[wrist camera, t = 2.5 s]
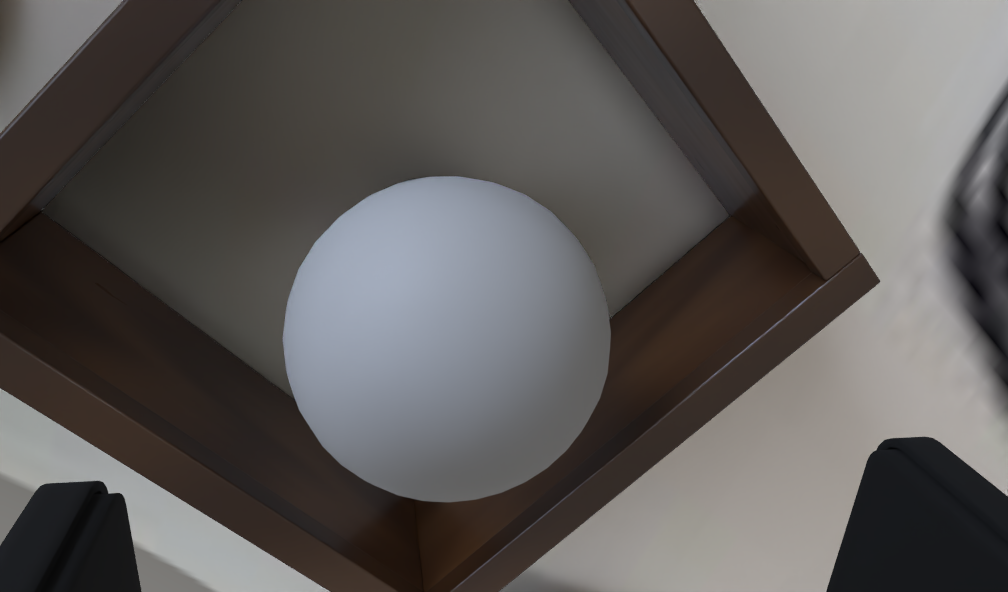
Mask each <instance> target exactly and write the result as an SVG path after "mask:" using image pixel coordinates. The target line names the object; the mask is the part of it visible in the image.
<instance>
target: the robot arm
mask: <svg viewBox="0 0 1008 592" xmlns="http://www.w3.org/2000/svg"><path fill="white" fill-rule="evenodd" d="M0 592H141V587H140V581H139V575H138V570H137V564H136V559H135V554H134V547H133V542H132V536H131V530H130V525H129V519H128V513H127V508H126V503H125V499H124V497H123V495H122V494H120V493H113V494H108V491H107V487H106V486H105V484H104V483H103V482H101V481H88V482H69V483H50V484H44V485H42V486H40V487H39V488H38V490H37V491H36V492H35V493H34V495H33V496H32V498H31V499H30V501H29V503H28V504H27V506H26V507H25V509H24V510H23V512H22V513H21V515H20V516H19V518H18V519H17V521H16V522H15V524H14V525H13V527H12V529H11V530H10V532H9V533H8V535H7V536H6V538H5V540H4V541H3V542H2V544H1V546H0ZM826 592H1008V497H1007V496H1006V495H1005V494H1004V493H1002V492H1001V491H1000V490H999V489H997V488H996V487H995V486H994V485H992V484H991V483H990V482H989V481H987V480H986V479H985V478H984V477H982V476H981V475H980V474H979V473H977V472H976V471H975V470H974V469H973V468H971V467H970V466H969V465H968V464H966V463H965V462H964V461H963V460H961V459H960V458H959V457H958V456H956V455H955V454H954V453H953V452H951V451H950V450H949V449H948V448H946V447H945V446H944V445H943V444H941V443H940V442H938V441H937V440H935V439H933V438H929V437H911V438H892V439H887V440H884V441H883V442H882V443H881V444H880V445H879V446H878V448H877V450H876V451H874V452H873V453H872V454H871V455H870V456H869V458H868V460H867V464H866V467H865V470H864V473H863V476H862V480H861V483H860V486H859V489H858V492H857V495H856V499H855V502H854V505H853V508H852V511H851V515H850V518H849V521H848V524H847V527H846V531H845V534H844V537H843V540H842V543H841V547H840V550H839V553H838V556H837V559H836V562H835V566H834V569H833V572H832V575H831V578H830V582H829V585H828V588H827V591H826Z"/></svg>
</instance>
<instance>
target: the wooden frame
mask: <svg viewBox="0 0 1008 592" xmlns="http://www.w3.org/2000/svg"><path fill="white" fill-rule="evenodd" d="M241 1H242V0H123V1H122V3H121V4H120V5H119V6H118V7H117V8H116V9H115V10H114V11H113V12H112V13H111V14H110V16H109V17H108V18H107V19H106V20H105V21H104V22H103V23H102V24H101V25H100V26H99V27H98V29H97V30H96V31H95V32H94V33H93V34H92V35H91V36H90V37H89V38H88V39H87V40H86V42H85V43H84V44H83V45H82V46H81V47H80V48H79V49H78V50H77V51H76V52H75V53H74V54H73V56H72V57H71V58H70V59H69V60H68V61H67V62H66V63H65V64H64V65H63V66H62V67H61V69H60V70H59V71H58V72H57V73H56V74H55V75H54V76H53V77H52V78H51V79H50V80H49V82H48V83H47V84H46V85H45V86H44V87H43V88H42V89H41V90H40V91H39V92H38V93H37V95H36V96H35V97H34V98H33V99H32V100H31V101H30V102H29V103H28V104H27V105H26V106H25V108H24V109H23V110H22V111H21V112H20V113H19V114H18V115H17V116H16V117H15V118H14V119H13V121H12V122H11V123H10V124H9V125H8V126H7V127H6V128H5V129H4V130H3V131H2V132H1V134H0V388H1V389H3V390H4V391H6V392H8V393H9V394H11V395H13V396H14V397H16V398H17V399H19V400H21V401H22V402H24V403H26V404H27V405H29V406H30V407H32V408H34V409H35V410H37V411H38V412H40V413H42V414H43V415H45V416H47V417H48V418H50V419H51V420H53V421H55V422H56V423H58V424H60V425H61V426H63V427H64V428H66V429H68V430H69V431H71V432H73V433H74V434H76V435H77V436H79V437H81V438H82V439H84V440H85V441H87V442H89V443H90V444H92V445H94V446H95V447H97V448H98V449H100V450H102V451H103V452H105V453H107V454H108V455H110V456H111V457H113V458H115V459H116V460H118V461H120V462H121V463H123V464H124V465H126V466H128V467H129V468H131V469H133V470H134V471H136V472H137V473H139V474H141V475H142V476H144V477H145V478H147V479H149V480H150V481H152V482H154V483H155V484H157V485H158V486H160V487H162V488H163V489H165V490H167V491H168V492H170V493H171V494H173V495H175V496H176V497H178V498H180V499H181V500H183V501H184V502H186V503H188V504H189V505H191V506H192V507H194V508H196V509H197V510H199V511H201V512H202V513H204V514H205V515H207V516H209V517H210V518H212V519H214V520H215V521H217V522H218V523H220V524H222V525H223V526H225V527H227V528H228V529H230V530H231V531H233V532H235V533H236V534H238V535H240V536H241V537H243V538H244V539H246V540H248V541H249V542H251V543H252V544H254V545H256V546H257V547H259V548H261V549H262V550H264V551H265V552H267V553H269V554H270V555H272V556H274V557H275V558H277V559H278V560H280V561H282V562H283V563H285V564H287V565H288V566H290V567H291V568H293V569H295V570H296V571H298V572H299V573H301V574H303V575H304V576H306V577H308V578H309V579H311V580H312V581H314V582H316V583H317V584H319V585H321V586H322V587H324V588H325V589H327V590H329V591H330V592H499V591H500V590H501V589H503V588H504V587H505V586H506V585H508V584H509V583H510V582H511V581H512V580H514V579H515V578H516V577H517V576H519V575H520V574H521V573H522V572H524V571H525V570H526V569H527V568H528V567H530V566H531V565H532V564H533V563H535V562H536V561H537V560H538V559H540V558H541V557H542V556H543V555H544V554H546V553H547V552H548V551H549V550H551V549H552V548H553V547H554V546H556V545H557V544H558V543H559V542H561V541H562V540H563V539H564V538H565V537H567V536H568V535H569V534H570V533H572V532H573V531H574V530H575V529H577V528H578V527H579V526H580V525H581V524H583V523H584V522H585V521H586V520H588V519H589V518H590V517H591V516H593V515H594V514H595V513H596V512H597V511H599V510H600V509H601V508H602V507H604V506H605V505H606V504H607V503H609V502H610V501H611V500H612V499H613V498H615V497H616V496H617V495H618V494H620V493H621V492H622V491H623V490H625V489H626V488H627V487H628V486H630V485H631V484H632V483H633V482H634V481H636V480H637V479H638V478H639V477H641V476H642V475H643V474H644V473H646V472H647V471H648V470H649V469H650V468H652V467H653V466H654V465H655V464H657V463H658V462H659V461H660V460H662V459H663V458H664V457H665V456H666V455H668V454H669V453H670V452H671V451H673V450H674V449H675V448H676V447H678V446H679V445H680V444H681V443H683V442H684V441H685V440H686V439H687V438H689V437H690V436H691V435H692V434H694V433H695V432H696V431H697V430H699V429H700V428H701V427H702V426H703V425H705V424H706V423H707V422H708V421H710V420H711V419H712V418H713V417H715V416H716V415H717V414H718V413H719V412H721V411H722V410H723V409H724V408H726V407H727V406H728V405H729V404H731V403H732V402H733V401H734V400H735V399H737V398H738V397H739V396H740V395H742V394H743V393H744V392H745V391H747V390H748V389H749V388H750V387H752V386H753V385H754V384H755V383H756V382H758V381H759V380H760V379H761V378H763V377H764V376H765V375H766V374H768V373H769V372H770V371H771V370H772V369H774V368H775V367H776V366H777V365H779V364H780V363H781V362H782V361H784V360H785V359H786V358H787V357H788V356H790V355H791V354H792V353H793V352H795V351H796V350H797V349H798V348H800V347H801V346H802V345H803V344H805V343H806V342H807V341H808V340H809V339H811V338H812V337H813V336H814V335H816V334H817V333H818V332H819V331H821V330H822V329H823V328H824V327H825V326H827V325H828V324H829V323H830V322H832V321H833V320H834V319H835V318H837V317H838V316H839V315H840V314H841V313H843V312H844V311H845V310H846V309H848V308H849V307H850V306H851V305H853V304H854V303H855V302H856V301H857V300H859V299H860V298H861V297H862V296H864V295H865V294H866V293H867V292H869V291H870V290H871V289H872V288H874V287H875V286H876V285H877V284H878V283H880V280H879V278H878V277H877V275H876V274H875V272H874V271H873V269H872V268H871V266H870V265H869V263H868V262H867V260H866V259H865V257H864V256H863V254H862V253H860V251H859V249H858V248H857V246H856V245H855V243H854V242H853V240H852V239H851V237H850V236H849V234H848V233H847V231H846V229H845V228H844V226H843V225H842V223H841V222H840V220H839V219H838V217H837V216H836V214H835V213H834V211H833V210H832V208H831V207H830V205H829V204H828V202H827V201H826V199H825V198H824V196H823V195H822V193H821V192H820V190H819V189H818V187H817V186H816V184H815V183H814V181H813V180H812V178H811V177H810V175H809V174H808V172H807V171H806V169H805V168H804V166H803V165H802V163H801V162H800V160H799V159H798V157H797V156H796V154H795V153H794V151H793V150H792V148H791V147H790V145H789V144H788V142H787V141H786V139H785V138H784V136H783V134H782V133H781V131H780V130H779V128H778V127H777V125H776V124H775V122H774V121H773V119H772V118H771V116H770V115H769V113H768V112H767V110H766V109H765V107H764V106H763V104H762V103H761V101H760V100H759V98H758V97H757V95H756V94H755V92H754V91H753V89H752V88H751V86H750V85H749V83H748V82H747V80H746V79H745V77H744V76H743V74H742V73H741V71H740V70H739V68H738V67H737V65H736V64H735V62H734V61H733V59H732V58H731V56H730V55H729V53H728V52H727V50H726V49H725V47H724V46H723V44H722V43H721V41H720V39H719V38H718V36H717V35H716V33H715V32H714V30H713V29H712V27H711V26H710V24H709V23H708V21H707V20H706V18H705V17H704V15H703V14H702V12H701V11H700V9H699V8H698V6H697V5H696V3H695V2H694V0H568V1H569V2H570V3H571V4H572V6H573V7H574V8H575V10H576V11H577V12H578V14H579V15H580V16H581V18H582V19H583V20H584V22H585V23H586V24H587V26H588V27H589V28H590V30H591V31H592V32H593V34H594V35H595V36H596V38H597V39H598V40H599V42H600V43H601V44H602V46H603V47H604V48H605V50H606V51H607V52H608V54H609V55H610V56H611V58H612V59H613V60H614V62H615V63H616V64H617V66H618V67H619V68H620V69H621V71H622V72H623V73H624V75H625V76H626V77H627V79H628V80H629V81H630V83H631V84H632V85H633V87H634V88H635V89H636V91H637V92H638V93H639V95H640V96H641V97H642V99H643V100H644V101H645V103H646V104H647V105H648V107H649V108H650V109H651V111H652V112H653V113H654V115H655V116H656V117H657V119H658V120H659V121H660V123H661V124H662V125H663V127H664V128H665V129H666V131H667V132H668V133H669V134H670V136H671V137H672V138H673V140H674V141H675V142H676V144H677V145H678V146H679V148H680V149H681V150H682V152H683V153H684V154H685V156H686V157H687V158H688V160H689V161H690V162H691V164H692V165H693V166H694V168H695V169H696V170H697V172H698V173H699V174H700V176H701V177H702V178H703V180H704V181H705V182H706V184H707V185H708V186H709V188H710V189H711V190H712V192H713V193H714V194H715V195H716V197H717V198H718V199H719V201H720V202H721V203H722V205H723V206H724V207H725V209H726V210H727V211H728V213H729V214H730V215H731V216H730V217H729V218H728V219H727V220H725V221H724V222H723V223H722V224H721V225H720V226H718V227H717V228H716V229H715V230H714V231H713V232H711V233H710V234H709V235H708V236H707V237H706V238H704V239H703V240H702V241H701V242H700V243H699V244H697V245H696V246H695V247H694V248H693V249H692V250H690V251H689V252H688V253H687V254H686V255H685V256H683V257H682V258H681V259H680V260H679V261H678V262H676V263H675V264H674V265H673V266H672V267H671V268H670V269H668V270H667V271H666V272H665V273H664V274H663V275H661V276H660V277H659V278H658V279H657V280H656V281H654V282H653V283H652V284H651V285H650V286H649V287H647V288H646V289H645V290H644V291H643V292H642V293H640V294H639V295H638V296H637V297H636V298H635V299H633V300H632V301H631V302H630V303H629V304H628V305H626V306H625V307H624V308H623V309H622V310H621V311H619V312H618V313H617V314H616V315H615V316H614V317H612V318H611V319H610V320H609V321H610V329H611V340H610V353H609V364H608V374H607V377H606V380H605V384H604V387H603V390H602V393H601V397H600V399H599V401H598V403H597V405H596V407H595V409H594V411H593V412H592V414H591V416H590V418H589V420H588V422H587V423H586V425H585V427H584V428H583V430H582V431H581V433H580V434H579V435H578V437H577V438H576V439H575V440H574V442H573V443H572V444H571V445H570V447H569V448H568V449H567V450H566V452H564V453H563V454H562V455H561V456H560V457H559V458H558V459H557V460H556V461H554V462H553V463H552V464H551V465H550V466H549V467H548V468H547V469H545V470H543V471H542V472H540V473H539V474H537V475H536V476H534V477H533V478H531V479H529V480H528V481H526V482H525V483H522V484H520V485H518V486H516V487H513V488H511V489H509V490H506V491H504V492H502V493H499V494H495V495H491V496H487V497H484V498H480V499H476V500H468V501H458V502H432V501H421V500H417V499H412V498H408V497H403V496H398V495H396V494H394V493H391V492H389V491H386V490H384V489H382V488H379V487H377V486H374V485H373V484H371V483H369V482H367V481H365V480H363V479H362V478H360V477H358V476H357V475H355V474H354V473H352V472H351V471H349V470H348V469H346V468H345V467H343V466H342V465H341V464H340V463H339V462H338V461H337V460H336V459H335V458H334V457H333V456H332V455H331V454H330V453H329V452H328V451H327V450H326V449H325V448H324V447H323V446H322V445H321V443H320V442H319V440H318V439H317V437H316V436H315V434H314V433H313V431H312V430H311V428H310V427H309V425H308V423H307V422H306V420H305V419H304V417H303V416H302V414H301V412H300V411H299V409H298V406H297V403H296V401H294V400H293V399H292V398H290V397H289V396H288V395H286V394H285V393H284V392H282V391H281V390H280V389H278V388H277V387H276V386H274V385H273V384H272V383H270V382H269V381H268V380H266V379H265V378H264V377H262V376H261V375H260V374H258V373H257V372H256V371H254V370H253V369H252V368H250V367H249V366H248V365H246V364H245V363H244V362H242V361H241V360H239V359H238V358H237V357H235V356H234V355H233V354H231V353H230V352H229V351H227V350H226V349H225V348H223V347H222V346H221V345H219V344H218V343H217V342H215V341H214V340H213V339H211V338H210V337H209V336H207V335H206V334H205V333H203V332H202V331H201V330H199V329H198V328H197V327H195V326H194V325H193V324H191V323H190V322H189V321H187V320H186V319H184V318H183V317H182V316H180V315H179V314H178V313H176V312H175V311H174V310H172V309H171V308H170V307H168V306H167V305H166V304H164V303H163V302H162V301H160V300H159V299H158V298H156V297H155V296H154V295H152V294H151V293H150V292H148V291H147V290H146V289H144V288H143V287H142V286H140V285H139V284H138V283H136V282H135V281H133V280H132V279H131V278H129V277H128V276H127V275H125V274H124V273H123V272H121V271H120V270H119V269H117V268H116V267H115V266H113V265H112V264H111V263H109V262H108V261H107V260H105V259H104V258H103V257H101V256H100V255H99V254H97V253H96V252H95V251H93V250H92V249H91V248H89V247H88V246H87V245H85V244H84V243H83V242H81V241H80V240H78V239H77V238H76V237H74V236H73V235H72V234H70V233H69V232H68V231H66V230H65V229H64V228H62V227H61V226H60V225H58V224H57V223H56V222H54V221H53V220H52V219H50V218H49V217H48V216H46V215H45V214H44V213H42V212H40V211H41V210H42V209H43V208H44V207H45V206H46V205H47V204H48V203H49V202H50V201H51V200H52V199H53V198H54V197H55V195H56V194H57V193H58V192H59V191H60V190H61V189H62V188H63V187H64V186H65V185H66V184H67V183H68V182H69V181H70V180H71V179H72V178H73V177H74V176H75V175H76V174H77V173H78V171H79V170H80V169H81V168H82V167H83V166H84V165H85V164H86V163H87V162H88V161H89V160H90V159H91V158H92V157H93V156H94V155H95V154H96V153H97V152H98V151H99V150H100V148H101V147H102V146H103V145H104V144H105V143H106V142H107V141H108V140H109V139H110V138H111V137H112V136H113V135H114V134H115V133H116V132H117V131H118V130H119V129H120V128H121V127H122V125H123V124H124V123H125V122H126V121H127V120H128V119H129V118H130V117H131V116H132V115H133V114H134V113H135V112H136V111H137V110H138V109H139V108H140V107H141V106H142V105H143V104H144V102H145V101H146V100H147V99H148V98H149V97H150V96H151V95H152V94H153V93H154V92H155V91H156V90H157V89H158V88H159V87H160V86H161V85H162V84H163V83H164V82H165V81H166V79H167V78H168V77H169V76H170V75H171V74H172V73H173V72H174V71H175V70H176V69H177V68H178V67H179V66H180V65H181V64H182V63H183V62H184V61H185V60H186V59H187V58H188V57H189V55H190V54H191V53H192V52H193V51H194V50H195V49H196V48H197V47H198V46H199V45H200V44H201V43H202V42H203V41H204V40H205V39H206V38H207V37H208V36H209V35H210V34H211V32H212V31H213V30H214V29H215V28H216V27H217V26H218V25H219V24H220V23H221V22H222V21H223V20H224V19H225V18H226V17H227V16H228V15H229V14H230V13H231V12H232V11H233V9H234V8H235V7H236V6H237V5H238V4H239V3H240V2H241ZM39 212H40V213H39Z"/></svg>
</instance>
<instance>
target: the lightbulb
mask: <svg viewBox="0 0 1008 592" xmlns="http://www.w3.org/2000/svg"><path fill="white" fill-rule="evenodd" d="M610 340H611V329H610V321H609V313H608V305H607V301H606V298H605V294H604V291H603V288H602V285H601V282H600V280H599V277H598V274H597V271H596V268H595V266H594V264H593V262H592V261H591V259H590V258H589V256H588V254H587V253H586V251H585V250H584V248H583V246H582V245H581V243H580V242H579V240H578V239H577V238H576V237H575V236H574V234H573V233H572V232H571V231H570V230H569V229H568V228H567V227H566V226H565V225H564V224H563V223H562V222H561V221H560V220H559V219H558V218H557V217H556V216H555V215H554V214H553V213H552V212H551V211H550V210H548V209H547V208H545V207H544V206H542V205H541V204H539V203H538V202H536V201H535V200H533V199H531V198H530V197H528V196H527V195H525V194H523V193H520V192H518V191H515V190H513V189H510V188H507V187H505V186H502V185H500V184H497V183H494V182H489V181H484V180H478V179H472V178H466V177H461V176H439V177H424V178H419V179H410V180H406V181H403V182H401V183H397V184H395V185H393V186H390V187H388V188H386V189H383V190H381V191H379V192H377V193H374V194H372V195H370V196H368V197H367V198H365V199H364V200H362V201H361V202H359V203H358V204H357V205H355V206H354V207H352V208H351V209H349V210H348V211H346V212H345V213H344V214H343V215H341V216H340V217H339V218H338V219H337V220H336V221H335V222H334V223H333V224H332V225H331V226H330V227H329V228H328V229H327V230H326V231H325V232H324V233H323V234H322V236H321V237H320V238H319V239H318V240H317V241H316V242H315V243H314V245H313V247H312V248H311V250H310V251H309V253H308V255H307V256H306V258H305V259H304V261H303V263H302V264H301V266H300V267H299V269H298V272H297V275H296V278H295V281H294V284H293V286H292V289H291V292H290V295H289V298H288V303H287V308H286V314H285V323H284V332H283V348H284V357H285V365H286V371H287V375H288V380H289V384H290V386H291V389H292V392H293V395H294V398H295V400H296V403H297V406H298V409H299V411H300V412H301V414H302V416H303V417H304V419H305V420H306V422H307V423H308V425H309V427H310V428H311V430H312V431H313V433H314V434H315V436H316V437H317V439H318V440H319V442H320V443H321V445H322V446H323V447H324V448H325V449H326V450H327V451H328V452H329V453H330V454H331V455H332V456H333V457H334V458H335V459H336V460H337V461H338V462H339V463H340V464H341V465H342V466H343V467H345V468H346V469H348V470H349V471H351V472H352V473H354V474H355V475H357V476H358V477H360V478H362V479H363V480H365V481H367V482H369V483H371V484H373V485H374V486H377V487H379V488H382V489H384V490H386V491H389V492H391V493H394V494H396V495H398V496H403V497H408V498H412V499H417V500H421V501H432V502H458V501H468V500H476V499H480V498H484V497H487V496H491V495H495V494H499V493H502V492H504V491H506V490H509V489H511V488H513V487H516V486H518V485H520V484H522V483H525V482H526V481H528V480H529V479H531V478H533V477H534V476H536V475H537V474H539V473H540V472H542V471H543V470H545V469H547V468H548V467H549V466H550V465H551V464H552V463H553V462H554V461H556V460H557V459H558V458H559V457H560V456H561V455H562V454H563V453H564V452H566V450H567V449H568V448H569V447H570V445H571V444H572V443H573V442H574V440H575V439H576V438H577V437H578V435H579V434H580V433H581V431H582V430H583V428H584V427H585V425H586V423H587V422H588V420H589V418H590V416H591V414H592V412H593V411H594V409H595V407H596V405H597V403H598V401H599V399H600V397H601V393H602V390H603V387H604V384H605V380H606V377H607V374H608V364H609V353H610Z"/></svg>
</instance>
